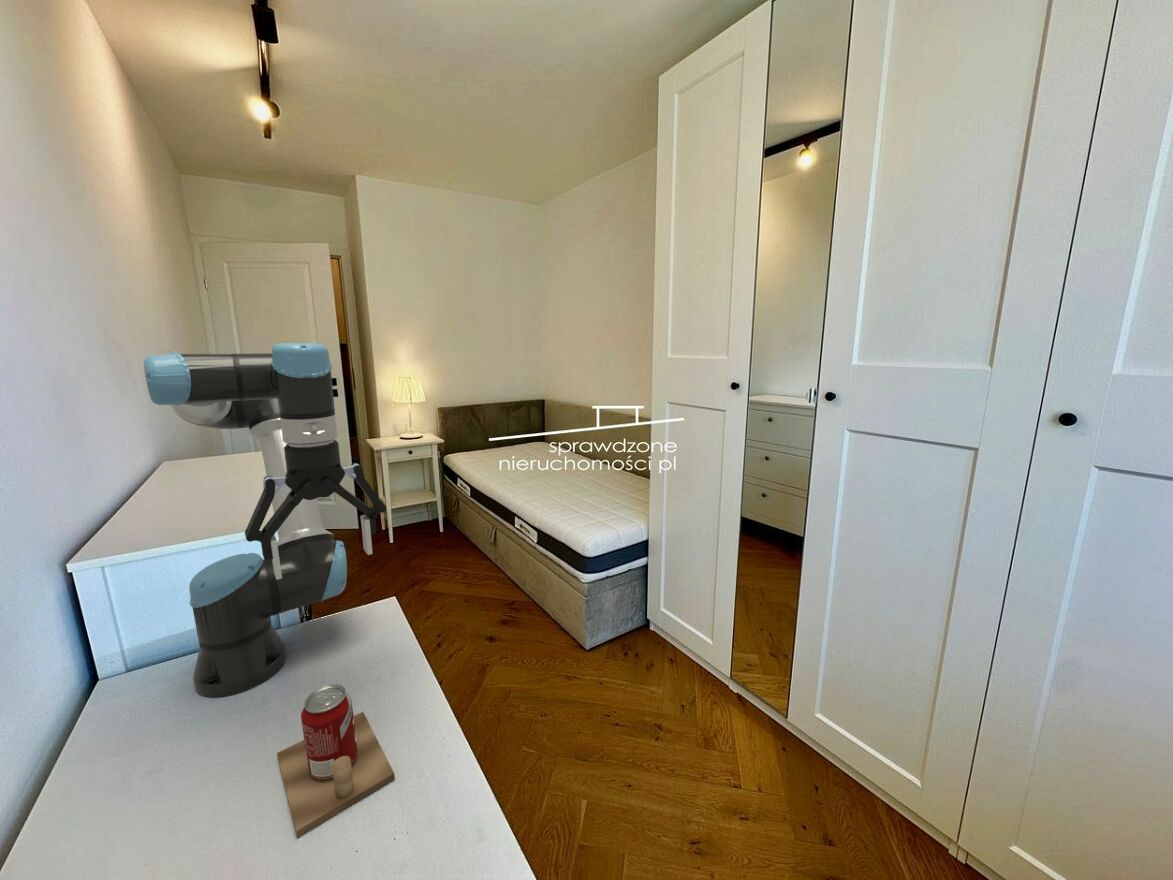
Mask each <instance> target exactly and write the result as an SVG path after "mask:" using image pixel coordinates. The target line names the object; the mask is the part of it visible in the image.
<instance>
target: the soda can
mask: <svg viewBox="0 0 1173 880" xmlns="http://www.w3.org/2000/svg"><path fill="white" fill-rule="evenodd" d="M303 706H304V707H303V709H302V711H301V713H300V720H301V728H302V734H303V740H304V742H305V749H306V755H307V762H308V769H309V773H310V775H311V776H312V777H314V778H317V779H328V778H331V777H333V771H332V764H333V763H334V761H335V760H336V759H338V758H339V757H342V756H348V757H350V759H351V764H352V763H353V762H354V760H355V758H356V756H357V742H356V733H355V725H354V710H353V702H352V696H351V695H350V693H348V692H347V691H346V688H345V687H344V686H343V685H341V684H338V683H337V684H335V683H334V684H328V685H324V686H321V687H318V689H316V690H313V692H311V693H309V695H308V696H307V697H306V699H305V700H304V705H303Z"/></svg>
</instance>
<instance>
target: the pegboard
mask: <svg viewBox="0 0 1173 880" xmlns="http://www.w3.org/2000/svg"><path fill="white" fill-rule="evenodd" d="M353 716H354V725H355V733H356V742H357V756H356V758H355V760H354V762H353V763H352V764H351V759H350V757H348V756H342V757H339V758H338V759H336V760H335V761H334V763H333V764H332V771H333V777H331V778H328V779H317V778H314V777H312V776H311V775H310V773H309V769H308V762H307V755H306V749H305V742H304V739H303V740H301V741H299V742H298V741H297V742H296V743H295V744H292V745H290V746H289V747H286V748H284V749H282V750H280V751H278V752H276V755H277V763H278V765H279V766H278V767H279V769H280V773H281V777H282V781H283V786H284V790H285V793H286V798H287V802H288V807H289V810H290V811H289V812H290V816H291V818H292V819H291V820H292V822H293V826H294V830H295V835H296V839H298V838H300V837H302V836H304V835H305V834H307V833H309V831H312V830H314V829H315V828H317V827H318V826H321V825H322V824H323V823H325V822H327V821H329V820H330V819H331V818H333V817H334V816H337V815H338V814H340V813H342V812H344V811H345V810H346V809H349V808H350V807H352V806H353V805H355V804H357V803H358V802H361V801H362V800H363V799H365V798H367V797H368V796H370V795H372V794H374V793H375V792H377V791H379V790H380V789H382V788H384V787H385V786H387V785H389V784H390V783H392V782H394V781H395V780H396V778H395V777H396V776H395V772H394V770H393V768H392V766H391V764H390V762H389V761H388V759H387V756H386V754H385V752H384V750H383V748H382V746H381V744H380V743H379V740H378V738H377V737H376V733H375V731H373V729H372V726H371V725H370V722H369V721H368V718H367V717H366V714H365V713H364V711H361V712H359V713H357V714H355V715H354V714H353Z"/></svg>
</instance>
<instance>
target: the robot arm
mask: <svg viewBox="0 0 1173 880" xmlns="http://www.w3.org/2000/svg"><path fill="white" fill-rule="evenodd" d="M332 367H333V366H332V363H331V361H330V353H329V350H328V348H327V346H326V345H325V344H323V343H314V342H282V343H281V342H280V343H278V342H277V343H275V344H274V345H273V346H272V348H271V353H269V352H268V353H267V352H265V353H264V352H260V353H259V352H258V353H254V352H253V353H228V354H227V353H187V354H186V353H178V352H171V353H167V354H165V353H164V354H150V355H148V356H147V357H145V358H144V360H143V369H144V375H145V382H146V388H147V392H148V395H149V398H150V401H151V402H152V403H153V404H155V405H158V406H170V405H171V407H172V409H173V411H174V412H175V413H176V415H177V416H178V417H179V418H180V419H182V420H184V421H185V422H188V423H189V424H192V425H195V426H199V427H204V428H210V429H216V430H217V429H218V430H219V429H220V430H235V429H248V430H249V434H250V436H251V437H253V438H255V439H256V440H258V441H259V444H260V448H261V453H262V459H263V463H264V469H265V474H266V475H265V476H264V477H263V491H262V493H261V495H260V497H259V499H258V501H257V504H256V506H255V508H254V511H253V512H252V516H251V517H250V519H249V522H248V524H247V526H246V528H245V531H244V537H245V538H246V539H245V540H246V541H247V542H259V543H260V544H261V545H260V546H261V554H262V556H261V555H260V554H258V553H256V552H249V553H238V554H235V555H231V556H228V557H225V558H222V559H220V560H218V561H215V562H213V563H211V564H209V565H208V566H206V567H204V568H203V569H201V570H199V571H198V572H197V573H196V574H194V576H193V577H192V578H191V580H190V582H189V586H188V588H189V598H190V599H189V605H190V607H191V608H192V610H193V611H192V613H193V617H194V624H195V628H196V634H197V639H198V645H199V650H198V654H197V658H196V662H195V667H194V671H193V676H192V677H193V679H192V680H193V684H194V688H195V691H196V692H197V693H198V694H199V695H201V696H204V697H210V698H218V697H226V696H232V695H235V694H239V693H242V692H246V691H247V690H249V689H252V688H254V687H257V686H258V685H260V684H262V683H264V682H265V681H267V680H269V679H270V678H272V677H273V676H274V675H275V674H277V673H278V671H280V670H281V669H282V667H283V666H284V665H285V663H286V661H287V656H288V655H287V650H286V645H285V642H284V641H283V640H282V638H281V637H280V635H279V634H278V632H277V630H276V629H275V627H274V626H273V625H272V618H271V617H273V616H276V615H279V614H282V613H285V612H289V611H293V610H295V609H298V608H301V607H305V606H308V605H312V604H315V603H317V602H321V603H322V602H323V601H324V600H327V599H330V598H333V597H336V596H339V595H340V594H342V593H343V592H344V590H345V588H346V585H347V579H348V577H347V575H348V570H347V569H348V564H347V563H348V562H347V552H346V547H345V545H344V541H342V540H336V541H335V538H334V533H333V532H330V531H328V530H327V529H326V528H324V523H323V519H322V515H321V510H320V505H319V502H318V498H328V497H331V495H333V494H334V493H335V494H337V495H338V496H339V497H340V498H342V499H344V500H345V501H347V503H349V504H350V505H352V506H353V507H354V508H356V509H357V510H358V511H360V512H362V513H363V515H360V524H361V534H362V544H363V545H362V546H363V550H364V552H365V553H366V554H367V555H368V556H370V555H373V543H372V535H375V534H377V520H376V519H377V518H378V515H379V514H381V513H385V512H386V510H387V508H386V506H385V504H384V503H383V502H382V500H381V498H380V497H379V496H378V494H377V493H376V491H375V490H374V489H373V488H372V486H371V485H370V483H369V482H368V481H367V479H366V478H365V475H364V471H363V467H362V466H361V465H360V464H359V463H357V462H353V463H351V465H349V466H345V467H342V464H341V457H340V447H339V442H338V441H337V440H336V439H337V438H338V427H337V421H336V411H335V410H336V409H335V399H334V390H333V378H332V369H333V368H332ZM346 475H347V476H348V477H349V478H350V479H354V481H355V482H356V483H357V485H359V487H360V489H362V491H363V493H364V494H365V495H366V496H367V498H368V499H369V501H370V502H371V503H372V505H373V506H368V505H367V504H366V503H364V501H363V500H360V499H359V498H358V497H357V496H355V495H354V494H352V493H351V492H350V491H349V490H348V489H346V488H345V487H344V486H342V485H341V482H342V481H343V479H344V477H345V476H346ZM271 505H272V510H273V515H272V516H271V517H270V518H269V520H268V521H267V523H266V524H265V525H264V526H263V527H262V525H263V523H264V521H265V519H266V516H267V514H268V512H269V510H270V508H271ZM261 527H262V529H261ZM276 533H277V535H278V540H277V538H276V535H275V534H276Z"/></svg>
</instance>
